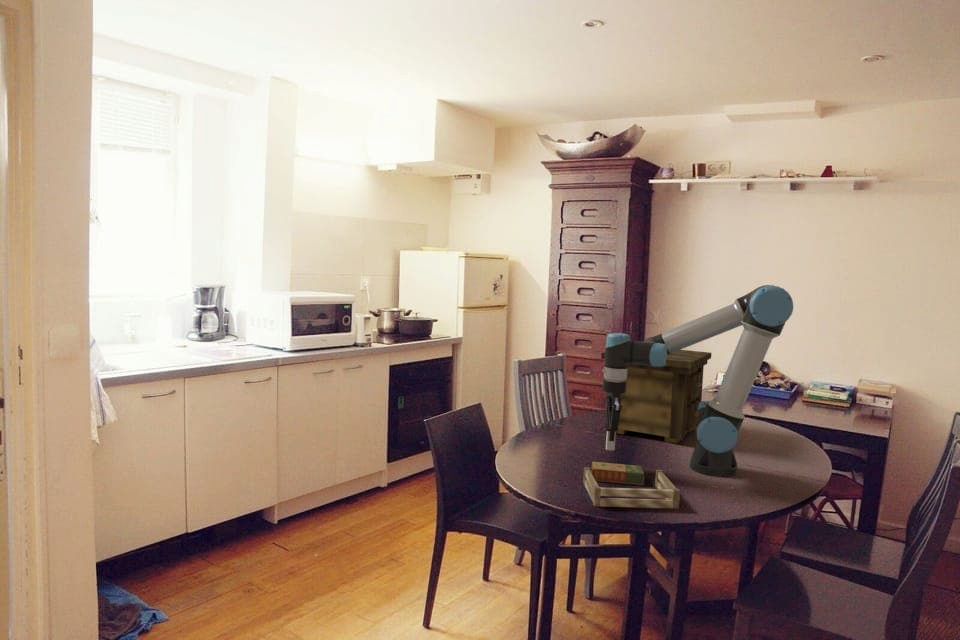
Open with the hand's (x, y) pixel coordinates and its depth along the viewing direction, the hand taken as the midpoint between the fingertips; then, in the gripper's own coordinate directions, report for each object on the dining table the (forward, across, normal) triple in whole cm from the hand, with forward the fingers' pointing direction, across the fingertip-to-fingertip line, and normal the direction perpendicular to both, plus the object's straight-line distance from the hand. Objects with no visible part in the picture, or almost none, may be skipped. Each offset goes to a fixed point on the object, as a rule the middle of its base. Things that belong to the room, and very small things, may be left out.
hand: (610, 449), depth 212 cm
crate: (+6, -49, +28) cm, 57 cm away
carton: (+7, +11, 0) cm, 13 cm away
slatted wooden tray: (+6, +26, 0) cm, 26 cm away
